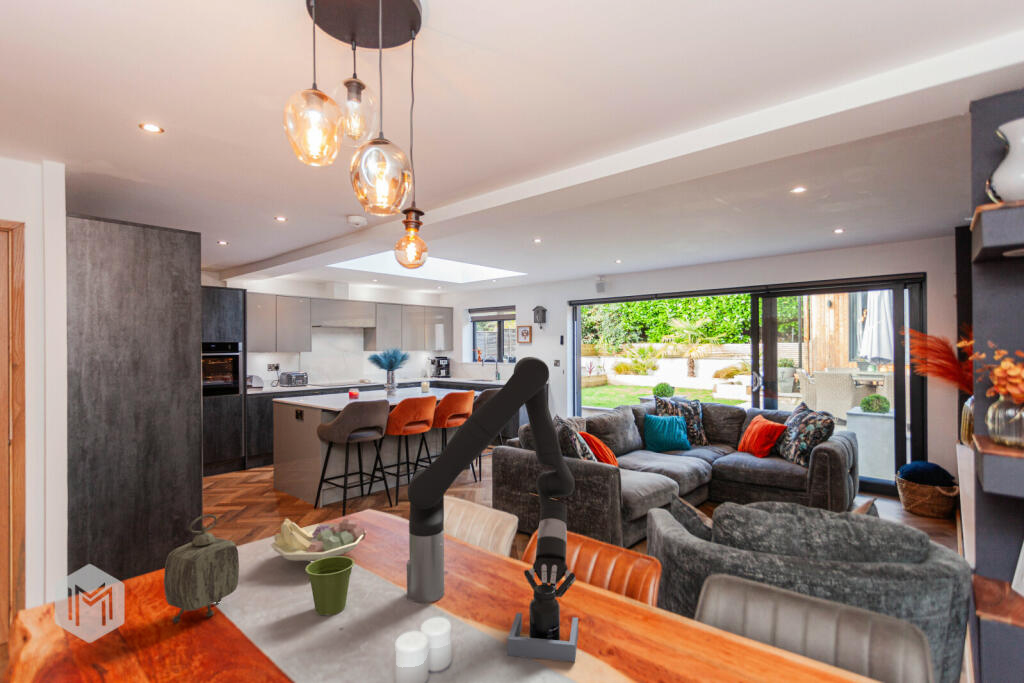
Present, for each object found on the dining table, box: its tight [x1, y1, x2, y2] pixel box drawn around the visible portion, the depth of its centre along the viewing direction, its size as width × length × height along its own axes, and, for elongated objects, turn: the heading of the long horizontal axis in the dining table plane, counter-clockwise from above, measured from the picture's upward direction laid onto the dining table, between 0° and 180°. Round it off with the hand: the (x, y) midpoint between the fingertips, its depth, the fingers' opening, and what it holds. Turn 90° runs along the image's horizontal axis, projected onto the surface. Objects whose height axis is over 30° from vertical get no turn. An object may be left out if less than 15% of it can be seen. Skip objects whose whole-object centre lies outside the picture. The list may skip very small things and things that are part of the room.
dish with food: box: [270, 518, 368, 562], centre depth 162 cm, size 28×28×14 cm
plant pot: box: [305, 555, 355, 616], centre depth 131 cm, size 12×12×11 cm
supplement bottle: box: [528, 584, 561, 641], centre depth 114 cm, size 7×7×12 cm
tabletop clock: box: [163, 513, 240, 624], centre depth 129 cm, size 14×9×25 cm, turn 154°
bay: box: [506, 612, 579, 663], centre depth 114 cm, size 14×11×4 cm
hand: (547, 614), depth 118 cm, fingers closed
